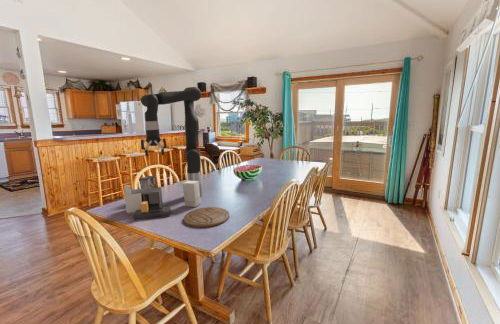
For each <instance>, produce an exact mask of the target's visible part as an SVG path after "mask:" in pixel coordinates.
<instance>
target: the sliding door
mask: <svg viewBox="0 0 500 324" xmlns="http://www.w3.org/2000/svg"><path fill="white" fill-rule="evenodd" d="M123 189H124V190H123V192H124V203H125V210H126V214H128V213H131V212H136V210H141V203H142V196H141V193H139V194H131V190H132V189H131V184H127V185H123Z"/></svg>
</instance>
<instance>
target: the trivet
mask: <svg viewBox="0 0 500 324" xmlns="http://www.w3.org/2000/svg"><path fill="white" fill-rule="evenodd" d="M229 218H230V213H229V211H228V210H227V209H226V208H222V207H217V206H207V207H206V206H205V207H199V208H196V209H192V210H191V211H188V213H186V214H184V216H183V222H184V224H185V225H186V226H189V227H191V228H199V229H202V228H203V229H204V228H205V229H206V228H212V227H218V226H220V225H222V224H224V223H226V222H227V221H228V220H229Z"/></svg>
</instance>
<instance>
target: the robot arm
mask: <svg viewBox="0 0 500 324" xmlns="http://www.w3.org/2000/svg"><path fill="white" fill-rule="evenodd" d="M201 97H202V91H201V90H200V88H198V87H195V86H189V87H185V89H184V90H177V91H165V92H159V93H151V94H150V93H149V94H144V95H143V96H141V98H140V104H142V106H143V107H146V111H145V112H144V121H145V123H144V124H145V125H144V126H145V127H144V129H145V136H146V137H145V138H146V139H144V138H142V139H140V147H141V150H144V153H145V156H146V157H149V150H148V149H149V147H157V146H158V147H159V148H160V151H161V156H164V155H165V149H167V139H166V137H164V138H161V136H160V125H159V124H160V123H159V121H158V120H159V119H158V118H159V117H158V111H159V106H163V105H169V104H174V103H179V102H183V106H184V131H185V133H184V134H185V135H184V136H185V141H186V142H185V154H184V156H185V157H184V158H185V159H186V173H187V175H186V176H187V181H198V182H199V192H200V197H202V196H203V192H202V191H203V190H202V178H201V177H202V176H201V167H202V166H201V154H200V152H199V151H198V144H197V142H198V137H199V131H200V129H199V127H200V126H199V125H200V124H199V118H198V117H197V114H196V111H195V105H194V102H196V101H199V100H200V99H201ZM161 142H162V143H163V145H162V144H161ZM145 143H147V145H146V146H145Z"/></svg>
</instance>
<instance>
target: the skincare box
mask: <svg viewBox="0 0 500 324" xmlns="http://www.w3.org/2000/svg"><path fill="white" fill-rule="evenodd" d="M182 191H183V192H182V193H183V197H184V198H183V201H184V206H185V207H192V208H196V207H198V206H199V205H201V204H202V203H201V196H200V192H199V182H198V181H188V180H186V181H184V182H182Z"/></svg>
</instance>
